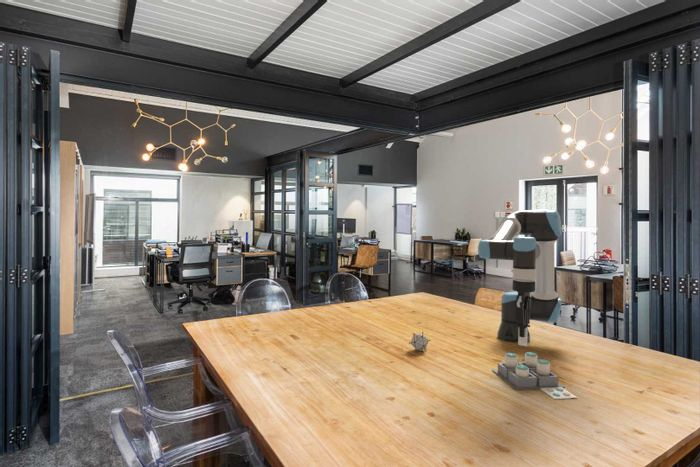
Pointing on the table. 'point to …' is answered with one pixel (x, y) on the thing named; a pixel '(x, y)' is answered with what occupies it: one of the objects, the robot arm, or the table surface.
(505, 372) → the board
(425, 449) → the table surface
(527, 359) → the button
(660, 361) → the table surface
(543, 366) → the button
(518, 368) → the button
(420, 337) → the game die
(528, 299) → the robot arm
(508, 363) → the button
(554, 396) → the card
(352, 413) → the table surface
